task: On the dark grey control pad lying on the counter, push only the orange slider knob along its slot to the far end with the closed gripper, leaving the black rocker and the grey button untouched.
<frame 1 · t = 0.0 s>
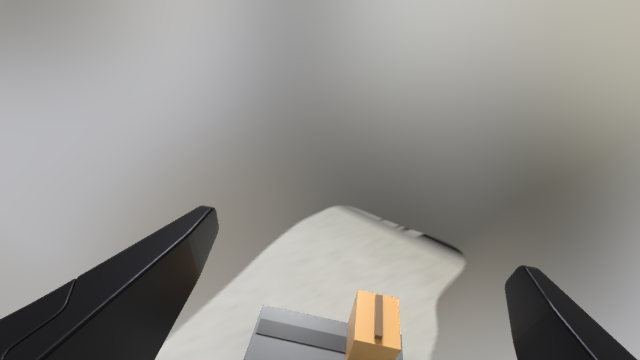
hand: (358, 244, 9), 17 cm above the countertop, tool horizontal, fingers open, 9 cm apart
orange slider: (371, 332, 18), point 5 cm above the countertop, slide at 0.0 cm
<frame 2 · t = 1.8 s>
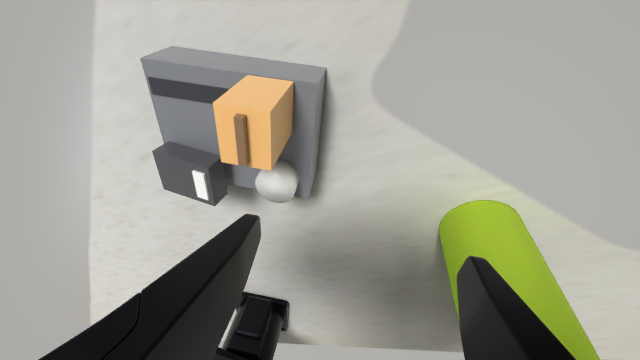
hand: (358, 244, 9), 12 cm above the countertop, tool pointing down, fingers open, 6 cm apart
panel: (250, 116, 20), on the countertop
rocker: (191, 174, 19), point 4 cm above the countertop, hinge at -10.0°
orange slider: (257, 121, 14), point 5 cm above the countertop, slide at 0.0 cm
soap dispenser: (471, 229, 23), on the countertop
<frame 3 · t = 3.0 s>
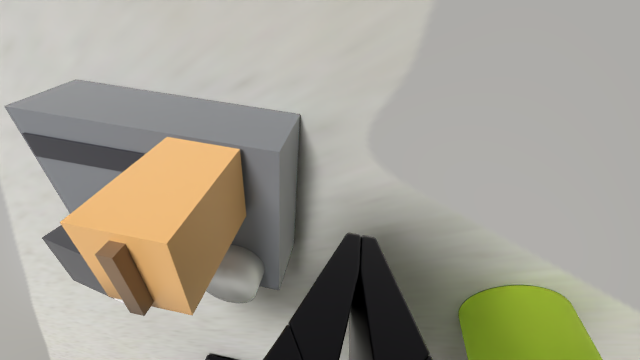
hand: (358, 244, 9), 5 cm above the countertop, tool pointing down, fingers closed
panel: (199, 172, 15), on the countertop
rocker: (106, 264, 13), point 4 cm above the countertop, hinge at -10.0°
orange slider: (174, 222, 9), point 5 cm above the countertop, slide at 0.0 cm
soap dispenser: (502, 313, 17), on the countertop
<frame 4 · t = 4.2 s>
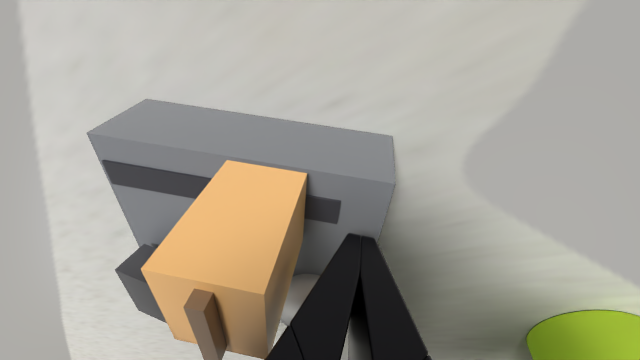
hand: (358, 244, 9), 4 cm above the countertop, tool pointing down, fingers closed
panel: (267, 194, 14), on the countertop
rocker: (178, 295, 12), point 4 cm above the countertop, hinge at -10.0°
orange slider: (243, 256, 8), point 5 cm above the countertop, slide at 1.4 cm, touching gripper
soap dispenser: (574, 337, 17), on the countertop
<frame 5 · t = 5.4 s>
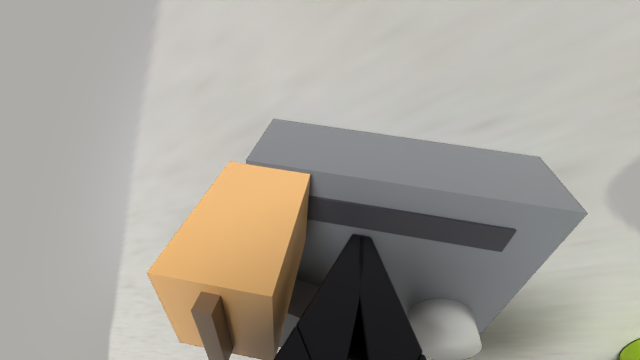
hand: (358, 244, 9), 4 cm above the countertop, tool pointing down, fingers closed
panel: (380, 213, 13), on the countertop
rocker: (305, 322, 12), point 4 cm above the countertop, hinge at -10.0°
orange slider: (247, 257, 8), point 5 cm above the countertop, slide at 6.7 cm, touching gripper
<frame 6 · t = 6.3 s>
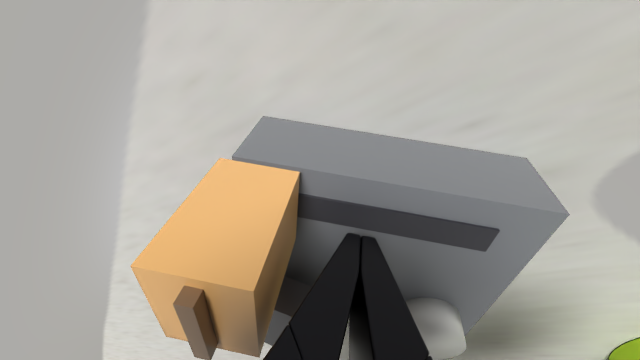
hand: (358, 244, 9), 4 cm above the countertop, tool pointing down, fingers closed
panel: (369, 212, 13), on the countertop
rocker: (292, 319, 12), point 4 cm above the countertop, hinge at -10.0°
orange slider: (234, 253, 8), point 5 cm above the countertop, slide at 6.6 cm
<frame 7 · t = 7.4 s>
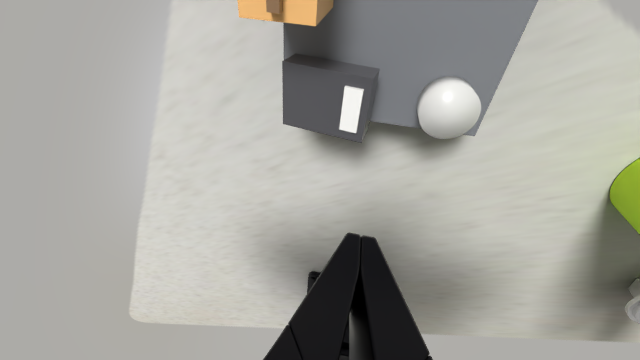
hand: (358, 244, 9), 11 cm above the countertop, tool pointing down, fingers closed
panel: (392, 26, 15), on the countertop
rocker: (327, 98, 13), point 4 cm above the countertop, hinge at -10.0°
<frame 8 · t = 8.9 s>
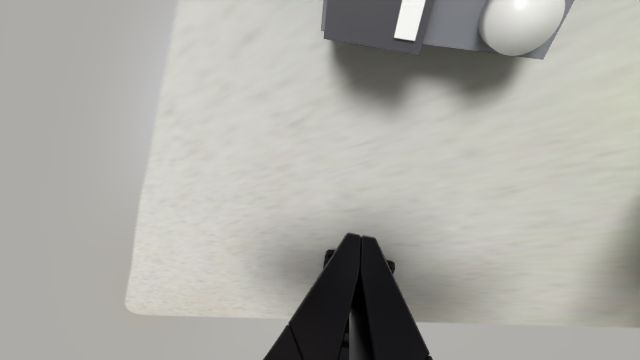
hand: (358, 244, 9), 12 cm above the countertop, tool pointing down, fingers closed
rocker: (380, 2, 11), point 4 cm above the countertop, hinge at -10.0°
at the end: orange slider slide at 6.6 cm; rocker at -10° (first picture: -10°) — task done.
